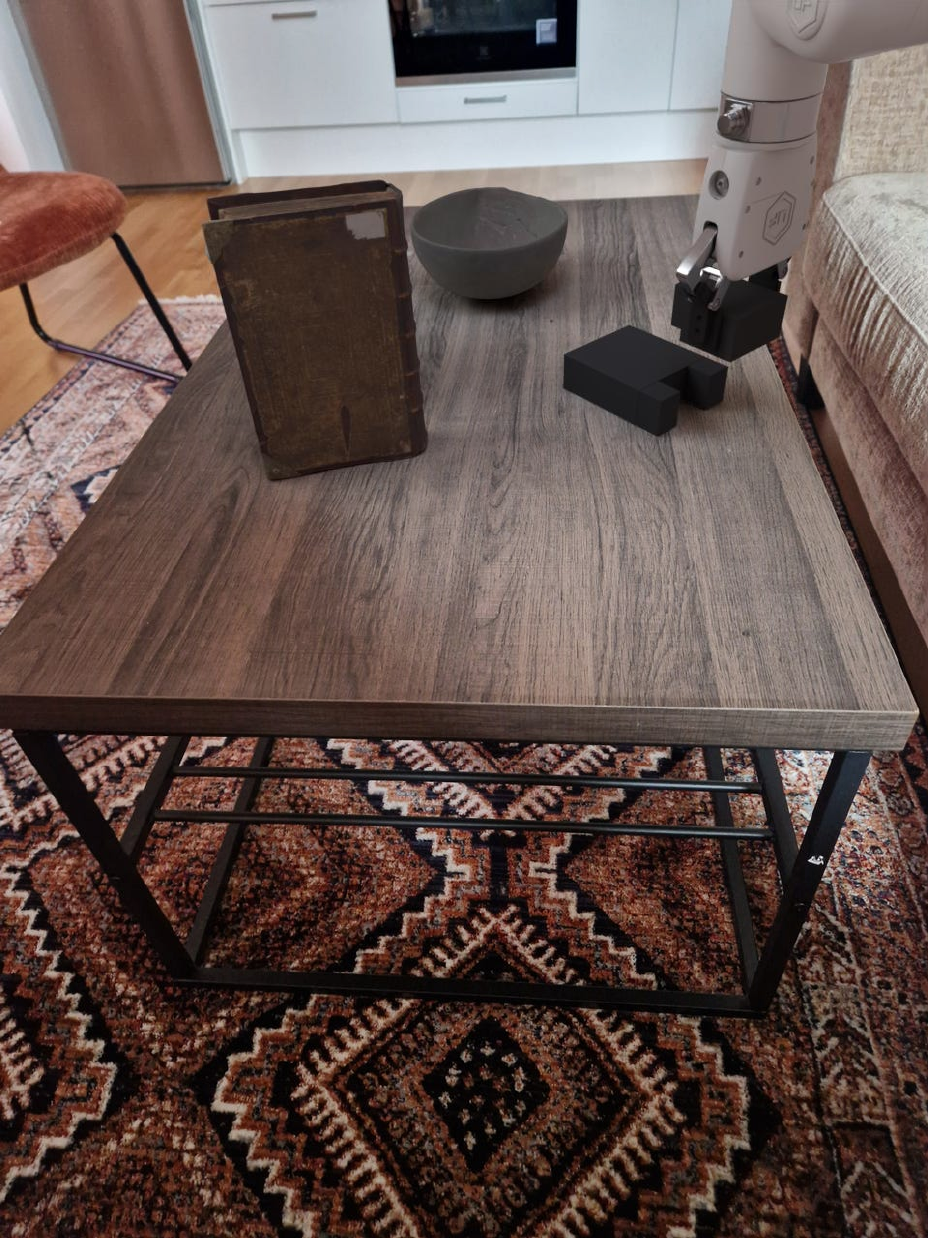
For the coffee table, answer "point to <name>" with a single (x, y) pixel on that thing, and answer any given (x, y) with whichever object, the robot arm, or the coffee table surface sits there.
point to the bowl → (489, 241)
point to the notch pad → (643, 377)
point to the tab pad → (737, 317)
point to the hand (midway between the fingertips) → (730, 331)
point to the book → (321, 322)
